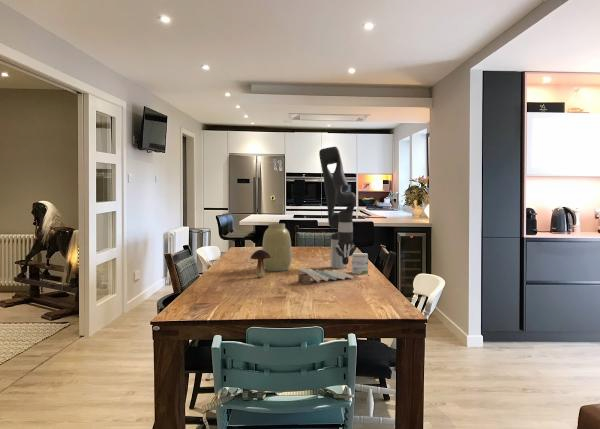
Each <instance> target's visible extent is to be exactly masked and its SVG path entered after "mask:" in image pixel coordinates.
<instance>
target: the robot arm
mask: <svg viewBox="0 0 600 429" xmlns="http://www.w3.org/2000/svg"><path fill="white" fill-rule="evenodd" d="M318 152H319V153H318V156H319V162H320V166H321V171H322V176H323V185H324V186H323V187H324V192H325V193H324V194H325V199H326V205H327V206H326V207H327V218H328V219H327V220H328V225H329V227H330V228H333V229H337V232H335V233H332V234H331V235H330V268H332V269H335V270H336V269H337V270H341V269H343V270H344V269H346V268H347V265H348V263H349V257H352V254H353V253H355V252H356V250H357V245H355V244H354V242H353V240H354V239H353V238H354V225H353V214H354V209H355V206H356V203H357V196H356V194H355V193H354V192H352V191H349V184H348V182H347V178H346V175H345V172H344V171H345V170H344V166H343V161H342V158H341V153H340V150H339V148H338V147H337V146H330V147H325V148H322V149H319V151H318ZM334 164H336V165H335V169H334V171H333V173H332V172H331V171H330V169H329V168H328V165H334ZM336 205H337V206H340V207H346V208H345V209H343V210H340V211H339V212H335V208H336Z"/></svg>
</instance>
